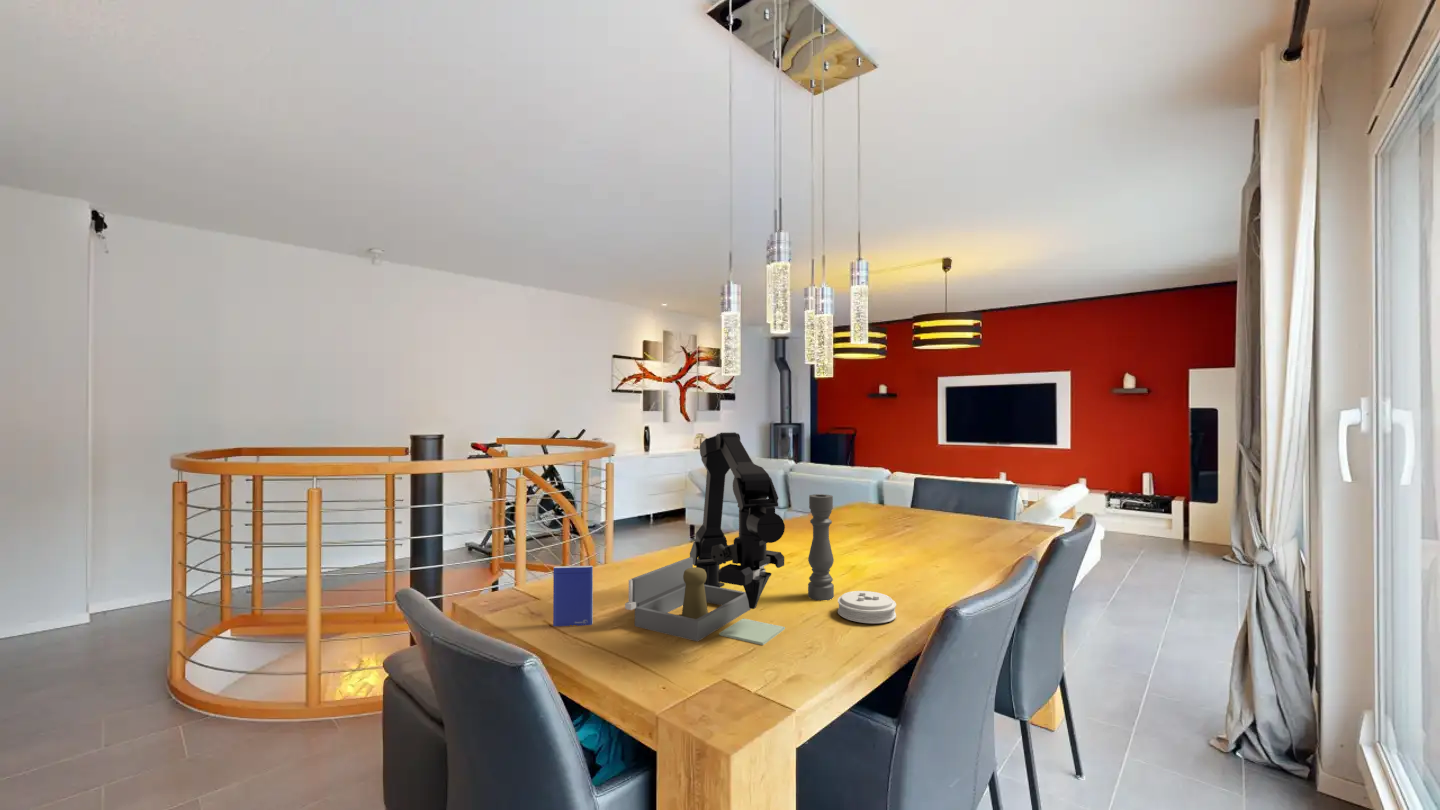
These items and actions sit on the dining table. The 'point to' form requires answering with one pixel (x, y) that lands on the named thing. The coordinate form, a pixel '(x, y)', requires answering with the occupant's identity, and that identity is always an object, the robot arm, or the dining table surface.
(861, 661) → the dining table surface
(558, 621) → the hard drive
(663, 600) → the equipment case
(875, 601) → the lid
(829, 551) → the candle holder
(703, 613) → the olive brown pawn
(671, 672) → the dining table surface
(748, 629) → the mat
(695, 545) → the robot arm
